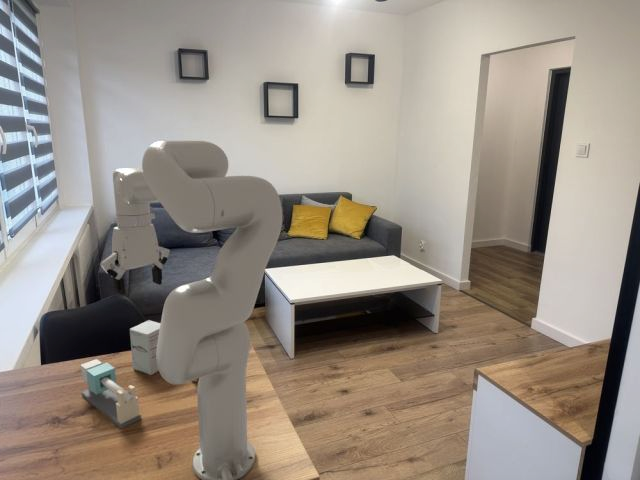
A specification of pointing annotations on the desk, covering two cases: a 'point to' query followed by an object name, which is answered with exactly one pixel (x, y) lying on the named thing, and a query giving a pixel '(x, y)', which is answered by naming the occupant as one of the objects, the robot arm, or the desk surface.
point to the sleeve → (98, 373)
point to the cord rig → (112, 399)
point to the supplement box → (145, 346)
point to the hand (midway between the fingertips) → (139, 288)
